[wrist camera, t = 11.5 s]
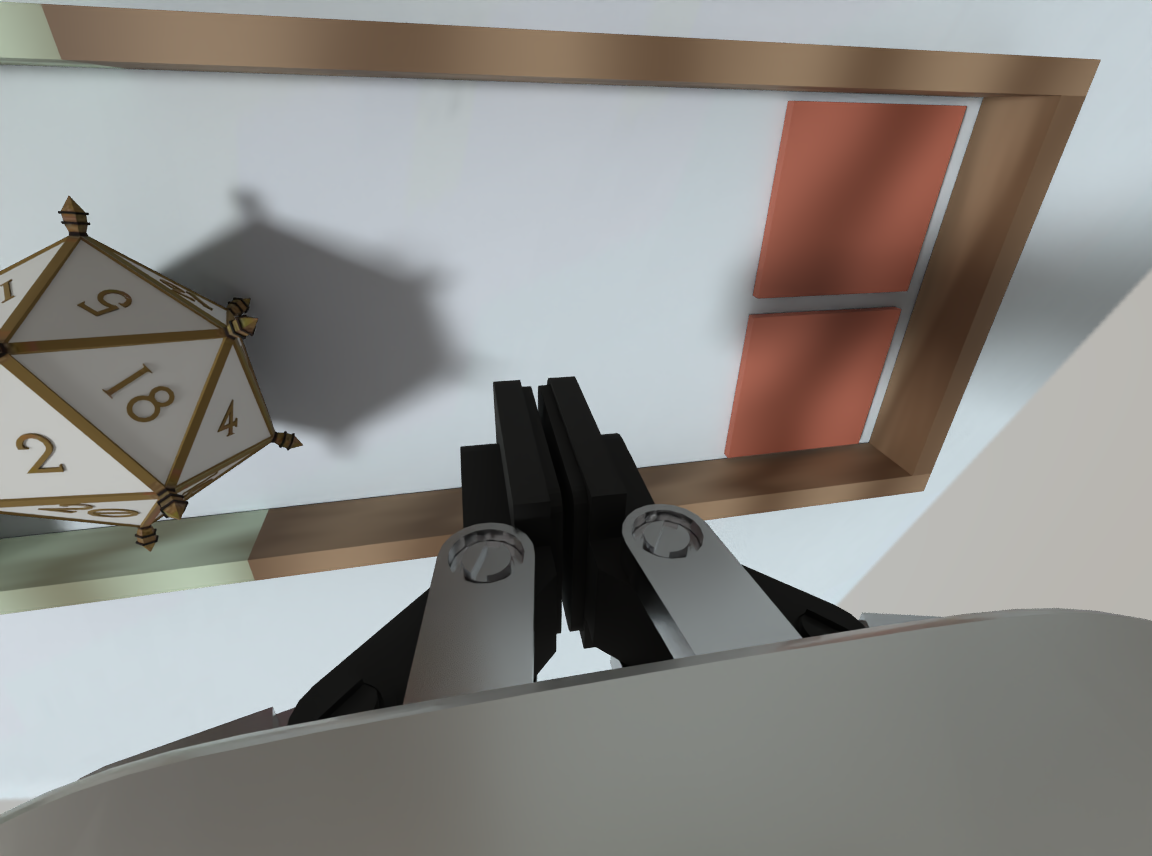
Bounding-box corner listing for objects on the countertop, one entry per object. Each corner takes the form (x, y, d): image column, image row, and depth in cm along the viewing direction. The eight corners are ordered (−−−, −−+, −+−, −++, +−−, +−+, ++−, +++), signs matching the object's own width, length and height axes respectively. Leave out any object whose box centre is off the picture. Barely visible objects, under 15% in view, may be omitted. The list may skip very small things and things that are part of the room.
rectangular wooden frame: (1016, 66, 20) (1101, 59, 18) (880, 457, 28) (923, 491, 26) (-456, -4, 12) (-692, -35, 10) (-43, 565, 21) (-111, 629, 18)
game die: (267, 313, 22) (398, 480, 18) (57, 443, 20) (152, 667, 16) (71, 87, 14) (223, 292, 10) (-312, 259, 12) (-313, 609, 8)
